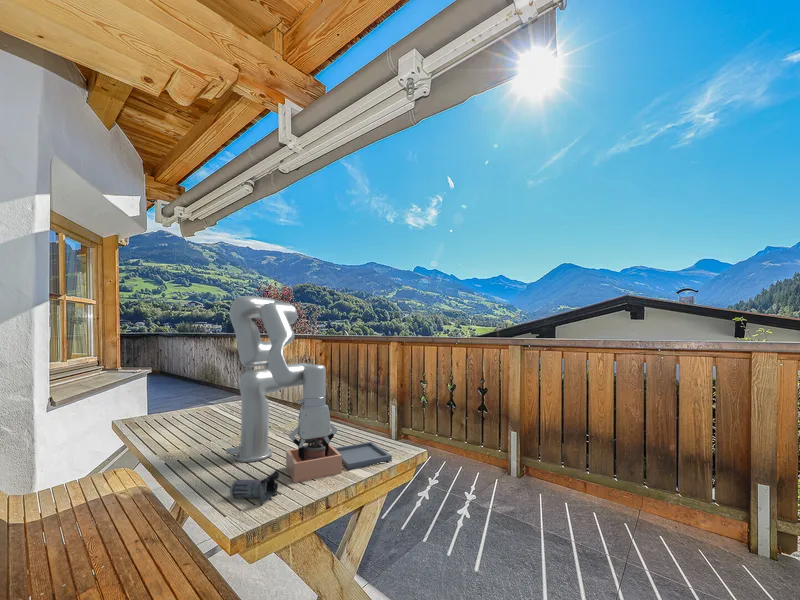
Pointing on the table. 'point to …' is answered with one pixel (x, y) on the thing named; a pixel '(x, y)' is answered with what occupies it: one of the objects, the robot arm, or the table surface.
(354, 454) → the tray
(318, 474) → the pink open box
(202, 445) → the table surface
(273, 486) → the dark blue piece
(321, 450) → the lighter
